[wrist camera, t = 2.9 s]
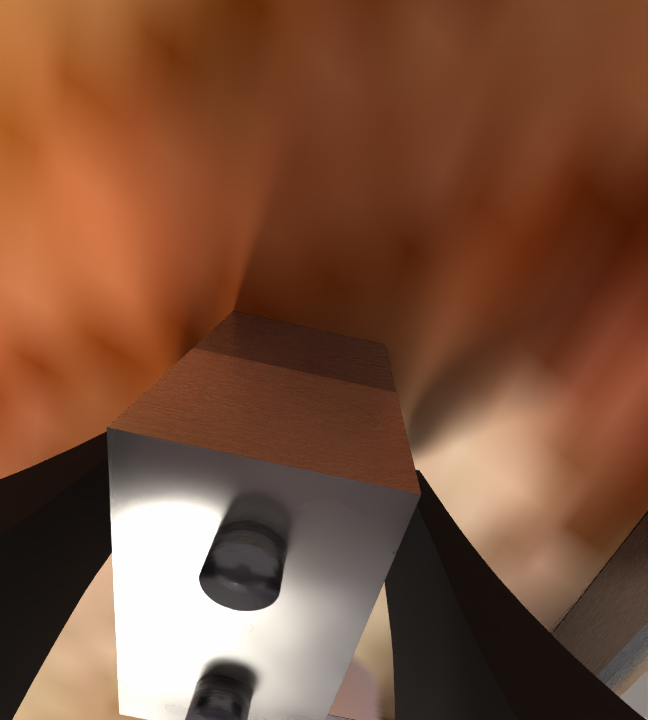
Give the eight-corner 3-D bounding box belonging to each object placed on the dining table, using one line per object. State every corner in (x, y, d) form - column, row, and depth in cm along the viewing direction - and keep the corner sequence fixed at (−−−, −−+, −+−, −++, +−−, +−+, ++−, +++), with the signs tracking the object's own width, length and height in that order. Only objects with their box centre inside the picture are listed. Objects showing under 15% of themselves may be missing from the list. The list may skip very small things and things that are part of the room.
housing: (327, 533, 14) (309, 790, 8) (211, 509, 14) (102, 750, 8) (384, 343, 11) (429, 529, 5) (234, 310, 10) (77, 454, 4)
